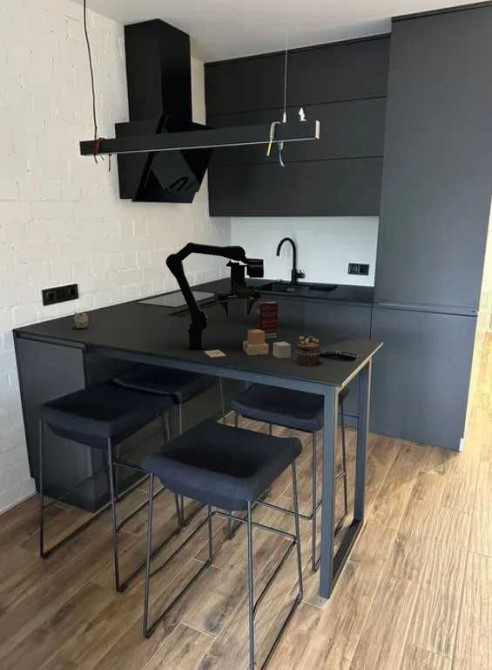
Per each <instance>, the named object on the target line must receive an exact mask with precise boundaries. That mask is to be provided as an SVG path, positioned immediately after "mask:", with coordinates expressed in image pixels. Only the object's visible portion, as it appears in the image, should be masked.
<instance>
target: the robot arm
mask: <svg viewBox="0 0 492 670" xmlns="http://www.w3.org/2000/svg"><path fill="white" fill-rule="evenodd" d="M192 254H200V255H209V256H218V257H223V258H226V259H228V260H229V261H228V262H227V263H226V264H225V266H226V267H228V268H229V267H230V279H229V282H228V283H230V289H229V292H228V293H227V292H226V291H215V292H214V293H213V300H215V301H217V302H219V304H220V306H221V307H222V311H223V312H224V315H225V317H226V318H229V308H228V307H229V305H228V304H229V300H228V299H235V298H236V299H237V298H238V299H239V300H244V299H245V302H246V304H245V305H246V311H245V312H246V316H247V317H248V316H250V313H251V311H252V308H253V305H254V304H255V303H256V302H259V299H262V292H261V291H259V290H257V289H256V286H255V285H249V286H248V285H247V280H246V276H248V277H249V279H264V277H265V269H264V261H263V260H250V258H248V257H247V256H246V250H245V249H244V247H242V246H241V245H226V246H224V245H223V246H220V245H211V244H205V243H196V242H195V243H194V242H192V241H190V242H187V244H186V245H184V246H183V247H182V248H181V249H180V250H178V251H177V252H176V253H171V254H169V255H168V256H167V257H166V259H165V264H166V267H167V269H168V270H169V271H170V273H171V274H172V275H173V277H174V278H175V280H176V282H177V284H178V287H179V289H180V291H181V294H182V296H183V299H184V300H185V303H186V305H187V308H188V310H189V313H190V319H191V323H190V324H189V325H188V327H187V335H188V342H187V344H185V347H186V348H187V349H189V351H193V350H194V351H195V350H202V349H203V350H204V349H206V346H205V345H203V331H204V330H206V328H208V327H207V325H208V320H209V316H208V315H207V314H206V309H205V308H202V309H201V308H200V306H199V304H198V302H197V300H196V297H195V295H194V292H193V290H192V288H191V286H190V283H189V281H188V278H187V276H186V274H185V269H184V268H185V267H184V264H183V261H184V260H185V259H186V258H187V257H189V256H190V255H192ZM240 262H241V263H243V264H240Z"/></svg>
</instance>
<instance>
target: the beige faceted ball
mask: <svg viewBox="0 0 492 670" xmlns="http://www.w3.org/2000/svg"><path fill="white" fill-rule="evenodd" d="M87 312H88V311H85V312H76V311H75V312H74V314H75V315H74V317H73V319H72V320H71V322H72V323H73V324H74V326H75V327H76V329H75V330H78V329H87V330H88V329H89V328H88V326H89V323H90V322H91V318H89V316H88V314H87Z"/></svg>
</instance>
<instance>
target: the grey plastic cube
mask: <svg viewBox="0 0 492 670" xmlns="http://www.w3.org/2000/svg"><path fill="white" fill-rule="evenodd" d="M291 346H292V345H291V344H290V343H288V342H286V341H279V342H278V341H277V342H273V343H272V356H274V357H276V358H277V359H284V358H285V359H287V358H291V352H292V350H291V348H292V347H291Z"/></svg>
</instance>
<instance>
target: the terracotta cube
mask: <svg viewBox="0 0 492 670" xmlns="http://www.w3.org/2000/svg"><path fill="white" fill-rule="evenodd" d="M265 340H266V338H265V332H264V331H262V330H260V329H256V328H255V329H249V330H247V341H248V343H250V344H251V345H262V344H265V343H266V342H265Z"/></svg>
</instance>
